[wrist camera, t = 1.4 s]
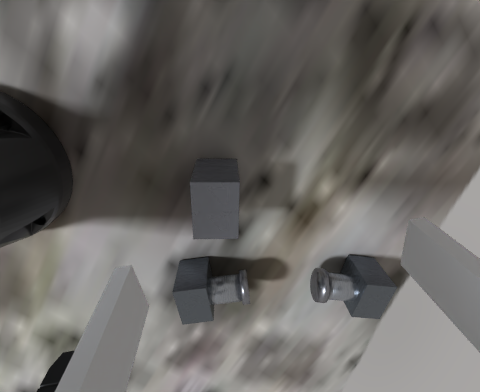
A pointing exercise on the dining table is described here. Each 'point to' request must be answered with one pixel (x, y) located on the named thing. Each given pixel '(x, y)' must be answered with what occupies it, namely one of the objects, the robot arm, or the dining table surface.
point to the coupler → (215, 199)
